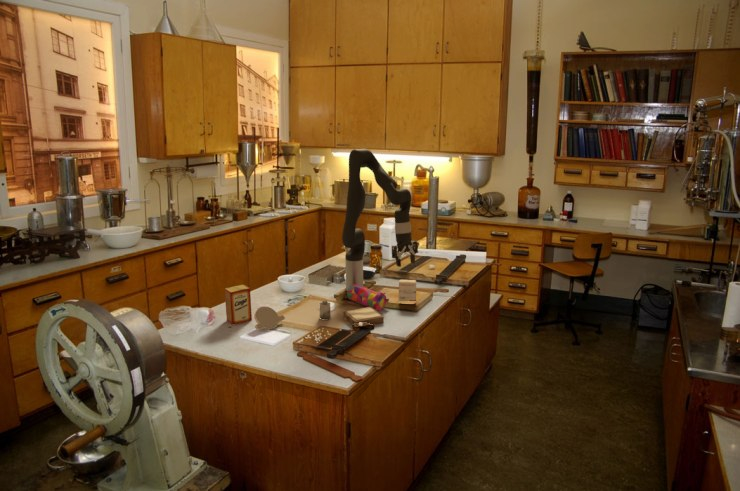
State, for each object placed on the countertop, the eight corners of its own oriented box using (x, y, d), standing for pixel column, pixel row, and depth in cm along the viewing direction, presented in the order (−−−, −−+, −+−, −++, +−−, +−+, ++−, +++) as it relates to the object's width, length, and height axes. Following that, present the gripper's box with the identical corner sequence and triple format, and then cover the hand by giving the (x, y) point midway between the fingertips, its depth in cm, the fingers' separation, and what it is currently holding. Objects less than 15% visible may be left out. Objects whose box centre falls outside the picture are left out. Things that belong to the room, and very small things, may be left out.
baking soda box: (232, 325, 254) (230, 291, 250) (226, 320, 260) (224, 287, 255) (251, 320, 260) (249, 287, 256) (245, 316, 265) (243, 283, 261)
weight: (318, 316, 264) (317, 300, 262) (328, 315, 266) (327, 298, 264) (322, 320, 259) (321, 304, 257) (332, 318, 261) (331, 302, 259)
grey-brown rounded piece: (261, 332, 244) (251, 308, 246) (252, 337, 250) (243, 314, 251) (288, 322, 255) (278, 299, 256) (278, 327, 260) (269, 305, 262)
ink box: (416, 301, 283) (416, 279, 280) (415, 305, 278) (416, 282, 275) (398, 301, 284) (399, 278, 281) (398, 304, 279) (398, 282, 276)
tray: (343, 317, 263) (343, 310, 262) (370, 312, 269) (370, 306, 268) (355, 328, 251) (355, 321, 250) (383, 322, 257) (383, 316, 256)
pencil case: (390, 308, 275) (390, 290, 273) (377, 313, 269) (377, 295, 266) (358, 297, 289) (357, 281, 287) (345, 302, 283) (344, 285, 280)
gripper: (409, 228, 273) (412, 260, 276) (386, 233, 265) (389, 266, 268) (419, 229, 267) (422, 262, 270) (396, 234, 259) (399, 268, 262)
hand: (405, 264), depth 269 cm, fingers open, 8 cm apart
